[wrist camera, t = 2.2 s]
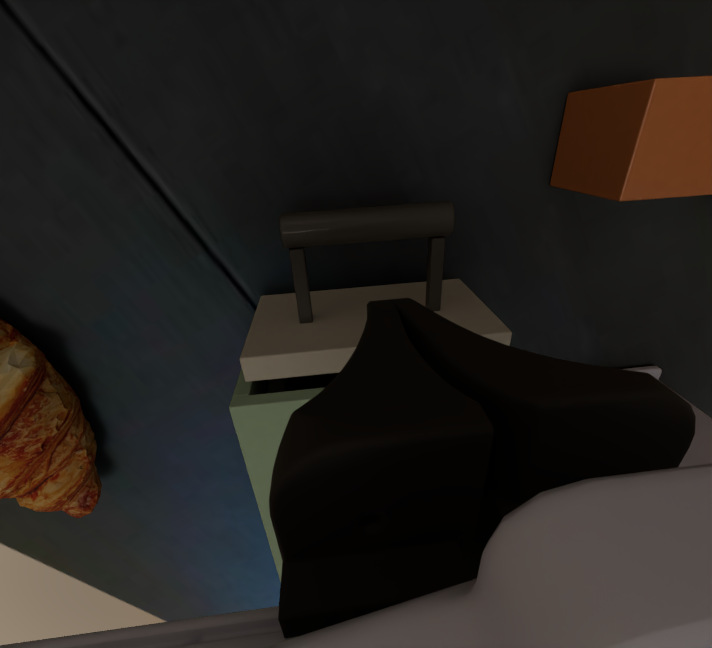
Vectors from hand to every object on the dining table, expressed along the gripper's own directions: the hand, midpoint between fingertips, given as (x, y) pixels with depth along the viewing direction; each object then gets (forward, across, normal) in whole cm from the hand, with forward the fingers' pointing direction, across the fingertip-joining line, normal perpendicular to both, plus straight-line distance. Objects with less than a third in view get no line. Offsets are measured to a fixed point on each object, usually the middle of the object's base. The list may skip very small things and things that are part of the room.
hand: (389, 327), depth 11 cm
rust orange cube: (+9, -12, -4) cm, 16 cm away
